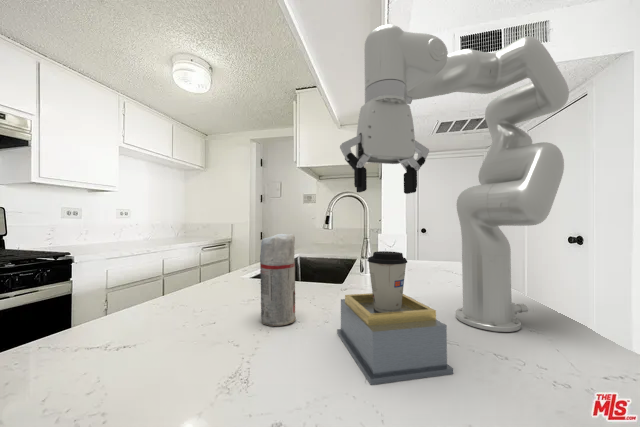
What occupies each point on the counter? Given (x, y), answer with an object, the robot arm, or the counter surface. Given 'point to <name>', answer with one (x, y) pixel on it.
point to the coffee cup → (387, 280)
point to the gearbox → (394, 340)
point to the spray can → (277, 280)
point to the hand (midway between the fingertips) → (386, 192)
